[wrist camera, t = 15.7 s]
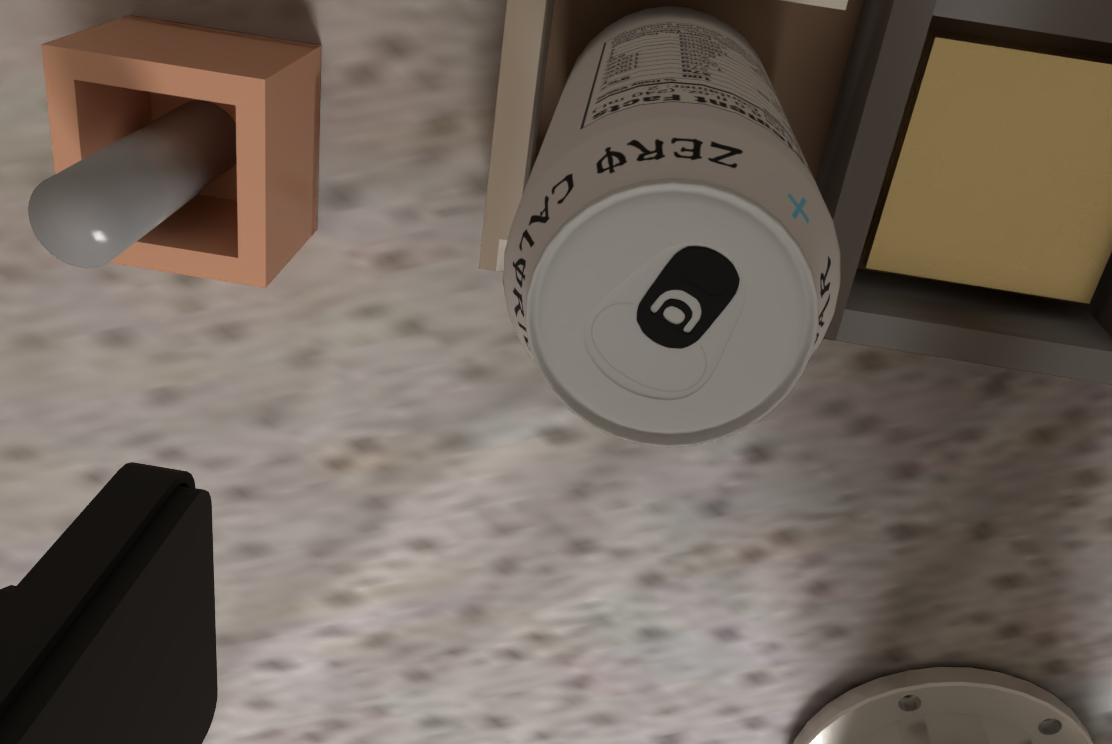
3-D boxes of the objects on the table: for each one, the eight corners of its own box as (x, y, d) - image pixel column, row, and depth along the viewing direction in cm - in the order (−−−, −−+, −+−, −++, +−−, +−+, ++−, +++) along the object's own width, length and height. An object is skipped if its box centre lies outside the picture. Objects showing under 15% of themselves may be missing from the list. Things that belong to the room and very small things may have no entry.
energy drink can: (526, 137, 31) (425, 365, 17) (637, -43, 28) (617, 63, 15) (690, 242, 32) (711, 530, 18) (812, 77, 29) (939, 277, 16)
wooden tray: (1244, 5, 28) (1340, 33, 24) (1104, 326, 33) (1165, 393, 29) (535, -104, 28) (514, -94, 24) (497, 229, 33) (475, 282, 29)
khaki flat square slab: (1162, 65, 28) (1185, 75, 26) (1072, 285, 31) (1089, 303, 30) (923, 28, 28) (935, 37, 27) (857, 251, 31) (865, 267, 30)
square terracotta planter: (321, 45, 31) (210, 112, 23) (317, 229, 34) (217, 342, 26) (129, 15, 31) (-43, 71, 23) (141, 201, 34) (-9, 305, 26)
